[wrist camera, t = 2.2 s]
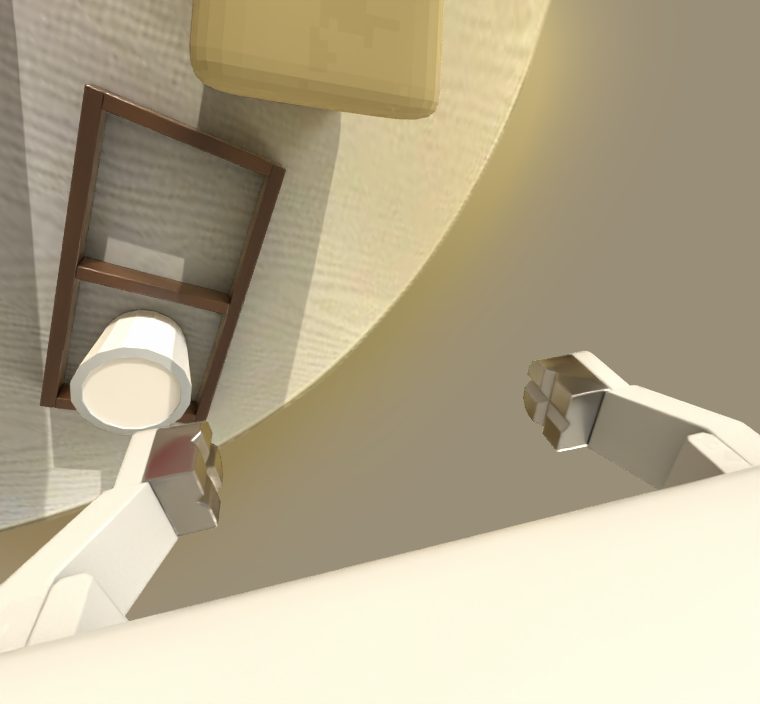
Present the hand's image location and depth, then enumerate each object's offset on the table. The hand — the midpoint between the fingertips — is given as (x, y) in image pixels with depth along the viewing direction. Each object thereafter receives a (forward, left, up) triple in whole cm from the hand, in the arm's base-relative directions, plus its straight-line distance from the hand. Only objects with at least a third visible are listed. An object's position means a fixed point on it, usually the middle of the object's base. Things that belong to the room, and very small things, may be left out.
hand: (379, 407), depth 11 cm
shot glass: (-5, -13, -25) cm, 29 cm away
